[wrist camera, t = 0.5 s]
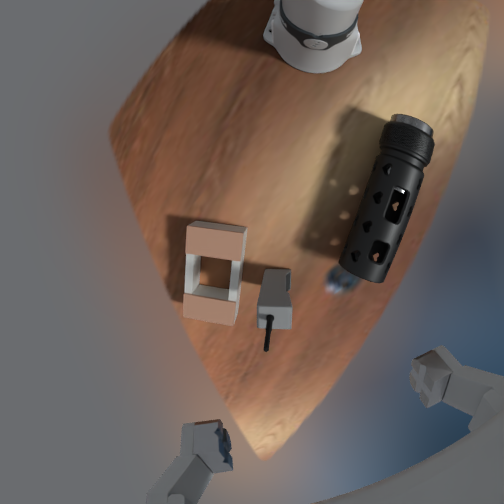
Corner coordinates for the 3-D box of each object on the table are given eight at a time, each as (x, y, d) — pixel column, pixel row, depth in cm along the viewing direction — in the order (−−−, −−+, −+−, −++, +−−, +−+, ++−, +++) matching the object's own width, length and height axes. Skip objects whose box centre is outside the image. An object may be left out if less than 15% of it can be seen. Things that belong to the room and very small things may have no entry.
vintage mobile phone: (290, 286, 58) (291, 363, 34) (265, 286, 58) (250, 361, 34) (291, 268, 57) (293, 337, 33) (265, 268, 57) (249, 336, 33)
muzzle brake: (332, 254, 55) (341, 272, 45) (379, 117, 47) (398, 107, 37) (375, 269, 55) (391, 289, 45) (421, 138, 47) (447, 133, 37)
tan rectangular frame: (196, 220, 56) (186, 225, 51) (247, 227, 56) (243, 233, 50) (191, 304, 61) (183, 316, 56) (237, 313, 61) (233, 326, 55)
